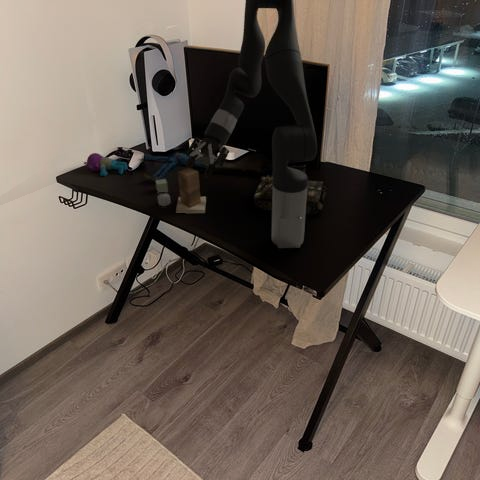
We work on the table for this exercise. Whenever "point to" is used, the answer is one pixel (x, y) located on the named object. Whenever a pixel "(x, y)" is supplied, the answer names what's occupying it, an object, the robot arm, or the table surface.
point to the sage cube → (161, 185)
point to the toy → (104, 164)
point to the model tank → (313, 194)
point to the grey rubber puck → (164, 199)
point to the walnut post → (189, 187)
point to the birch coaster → (195, 209)
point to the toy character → (168, 164)
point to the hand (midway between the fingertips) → (197, 172)
